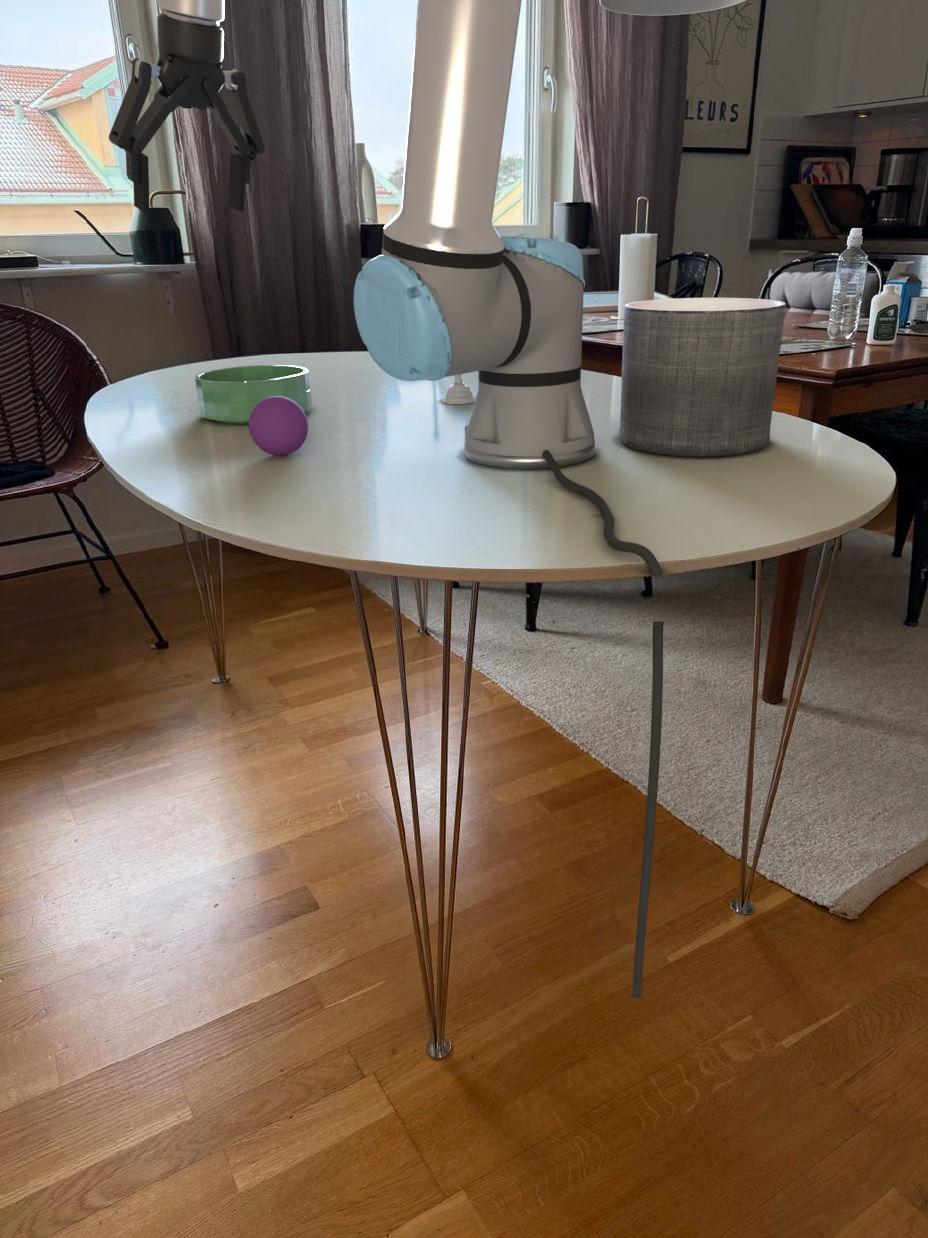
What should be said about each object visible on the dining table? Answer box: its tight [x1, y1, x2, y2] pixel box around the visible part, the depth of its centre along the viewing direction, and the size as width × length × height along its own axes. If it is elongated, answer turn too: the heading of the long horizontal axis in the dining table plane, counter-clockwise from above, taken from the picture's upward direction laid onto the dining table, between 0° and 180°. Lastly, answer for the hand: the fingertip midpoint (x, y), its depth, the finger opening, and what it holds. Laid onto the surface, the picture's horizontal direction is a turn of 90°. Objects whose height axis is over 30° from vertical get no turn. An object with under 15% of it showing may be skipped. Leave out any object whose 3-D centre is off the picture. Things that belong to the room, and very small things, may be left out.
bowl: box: [194, 364, 313, 424], centre depth 127 cm, size 16×16×6 cm
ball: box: [248, 396, 309, 457], centre depth 103 cm, size 7×7×7 cm
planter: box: [618, 297, 787, 458], centre depth 101 cm, size 18×18×16 cm
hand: (191, 209), depth 114 cm, fingers open, 13 cm apart
